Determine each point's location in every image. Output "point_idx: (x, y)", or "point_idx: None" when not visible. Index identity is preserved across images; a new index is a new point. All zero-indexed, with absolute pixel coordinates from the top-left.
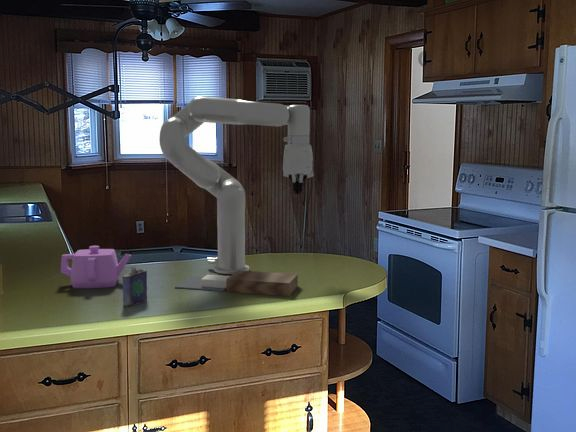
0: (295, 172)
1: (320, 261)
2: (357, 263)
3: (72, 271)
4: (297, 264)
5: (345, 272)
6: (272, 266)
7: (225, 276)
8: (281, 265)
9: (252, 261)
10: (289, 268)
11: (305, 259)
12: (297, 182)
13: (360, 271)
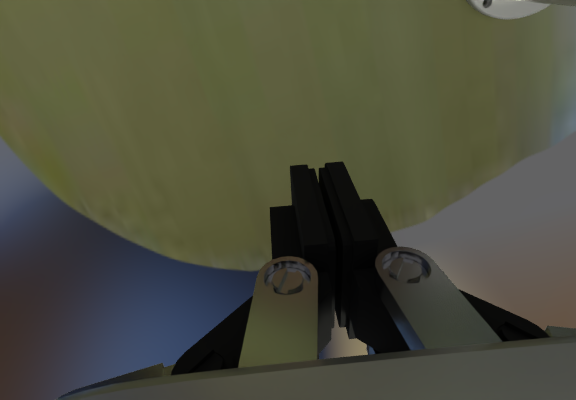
0: (450, 369)
1: (236, 185)
2: (117, 196)
3: None
4: (296, 123)
5: (93, 58)
6: (374, 65)
7: None
8: (345, 91)
9: (453, 117)
10: (308, 54)
11: (289, 195)
12: (350, 298)
13: (52, 92)
